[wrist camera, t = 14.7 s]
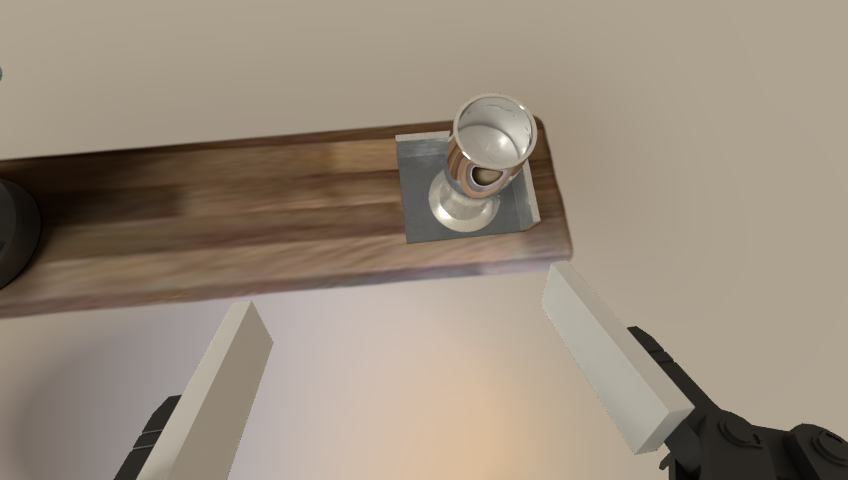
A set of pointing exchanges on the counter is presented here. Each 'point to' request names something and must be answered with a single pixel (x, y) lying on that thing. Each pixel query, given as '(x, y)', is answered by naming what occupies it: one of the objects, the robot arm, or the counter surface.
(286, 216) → the counter surface
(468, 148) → the beer glass
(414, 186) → the tray
